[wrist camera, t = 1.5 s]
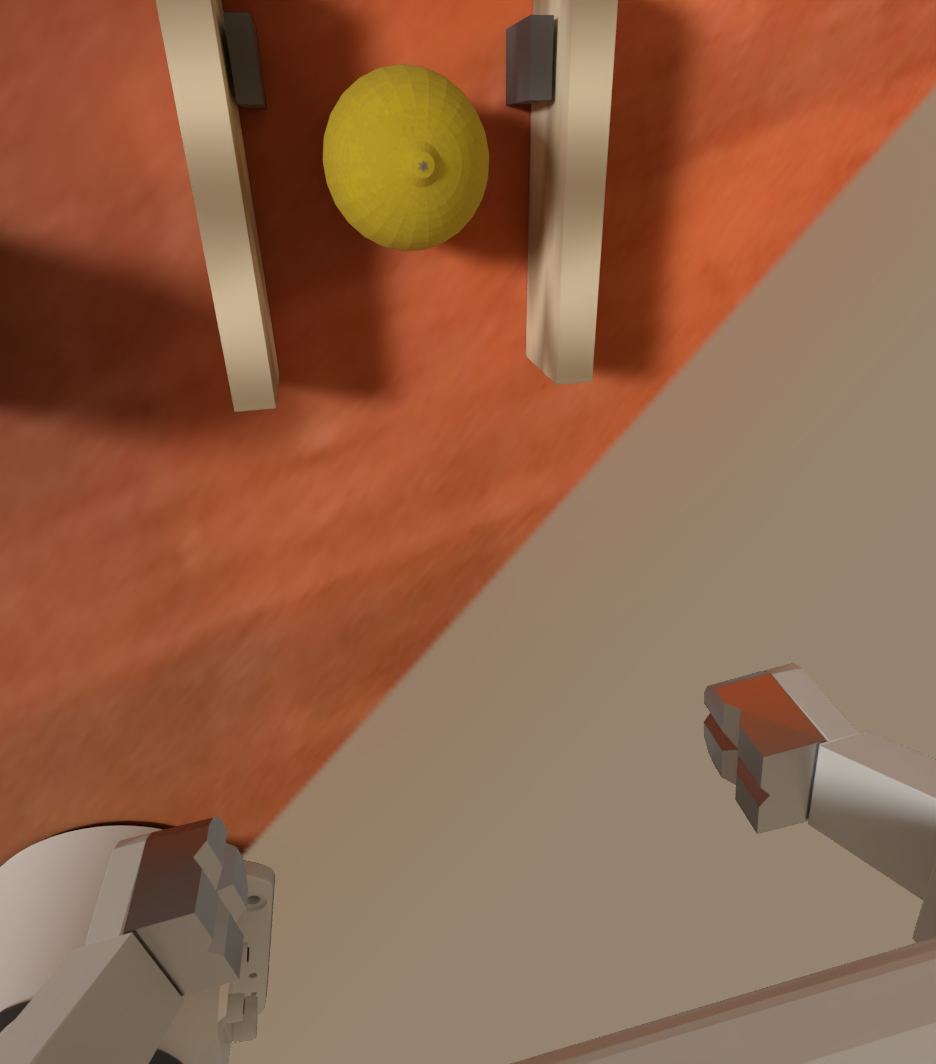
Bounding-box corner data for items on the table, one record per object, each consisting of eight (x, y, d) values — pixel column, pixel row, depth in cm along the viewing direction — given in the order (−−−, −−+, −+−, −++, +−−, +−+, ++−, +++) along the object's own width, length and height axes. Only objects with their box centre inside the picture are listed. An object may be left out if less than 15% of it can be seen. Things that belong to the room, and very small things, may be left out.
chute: (557, 353, 32) (592, 381, 28) (243, 377, 30) (234, 411, 26) (573, -32, 25) (622, -64, 21) (168, -40, 23) (141, -79, 19)
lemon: (302, 203, 27) (301, 222, 20) (348, 46, 25) (364, 7, 18) (432, 259, 29) (472, 294, 22) (485, 118, 27) (546, 108, 20)
